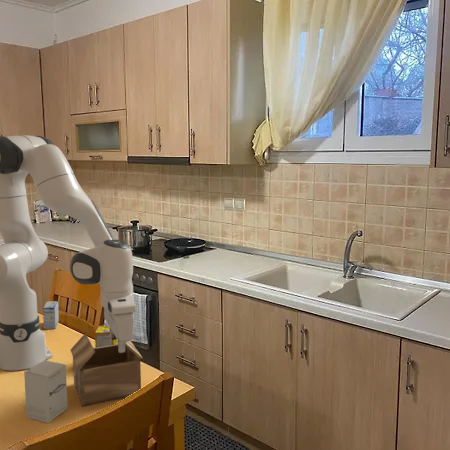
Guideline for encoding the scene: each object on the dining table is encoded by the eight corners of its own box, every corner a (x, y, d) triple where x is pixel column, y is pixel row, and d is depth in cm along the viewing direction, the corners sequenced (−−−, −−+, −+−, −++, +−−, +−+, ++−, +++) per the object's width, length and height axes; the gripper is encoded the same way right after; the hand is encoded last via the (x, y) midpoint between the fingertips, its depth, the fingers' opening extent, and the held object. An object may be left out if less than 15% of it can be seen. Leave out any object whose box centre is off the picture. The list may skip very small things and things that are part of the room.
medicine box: (47, 322, 189) (46, 301, 188) (59, 321, 190) (58, 300, 189) (43, 329, 182) (42, 307, 180) (55, 329, 183) (54, 307, 181)
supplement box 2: (118, 357, 158) (117, 325, 157) (114, 365, 153) (113, 332, 151) (100, 357, 158) (99, 325, 157) (95, 365, 152) (94, 332, 151)
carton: (74, 383, 140) (72, 351, 139) (128, 373, 147) (127, 342, 145) (81, 407, 128) (80, 371, 126) (141, 394, 134) (140, 360, 133)
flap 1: (71, 350, 138) (70, 349, 138) (86, 334, 139) (85, 333, 139) (79, 370, 126) (77, 369, 126) (95, 352, 127) (93, 351, 127)
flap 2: (114, 329, 143) (115, 328, 143) (128, 341, 145) (130, 340, 145) (125, 346, 131) (127, 345, 131) (141, 359, 133) (142, 357, 133)
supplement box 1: (48, 424, 120) (46, 376, 118) (25, 417, 122) (22, 370, 120) (68, 409, 126) (66, 363, 124) (46, 403, 129) (44, 359, 127)
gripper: (98, 289, 142) (99, 333, 145) (113, 310, 124) (114, 361, 126) (119, 286, 145) (120, 330, 147) (137, 307, 127) (137, 357, 129)
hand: (117, 345), depth 137 cm, fingers open, 8 cm apart
